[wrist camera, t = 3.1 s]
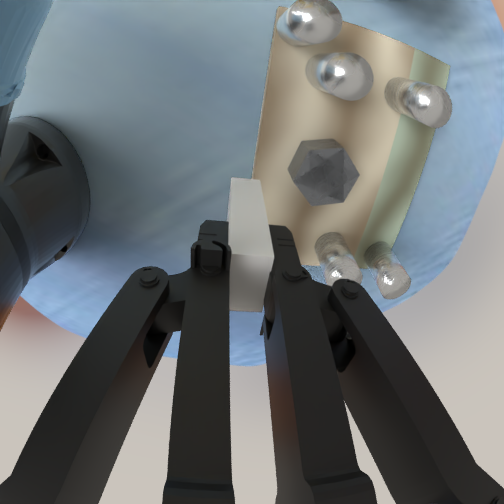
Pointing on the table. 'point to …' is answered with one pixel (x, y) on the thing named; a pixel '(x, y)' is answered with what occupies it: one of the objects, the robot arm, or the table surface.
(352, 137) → the board
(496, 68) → the table surface
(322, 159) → the gray polyhedron
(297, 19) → the spacers
